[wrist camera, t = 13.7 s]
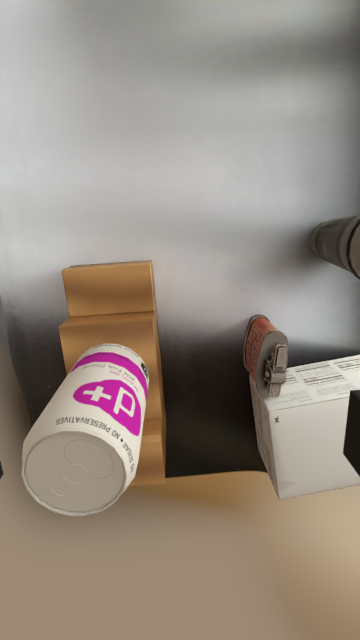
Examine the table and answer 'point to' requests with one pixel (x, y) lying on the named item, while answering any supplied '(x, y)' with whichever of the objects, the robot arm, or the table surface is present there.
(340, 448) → the supplement box
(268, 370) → the lighter
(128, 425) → the supplement can
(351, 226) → the beverage cup
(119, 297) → the step shelf
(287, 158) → the table surface
